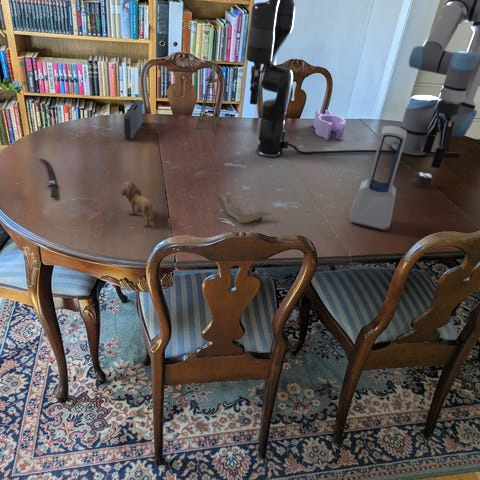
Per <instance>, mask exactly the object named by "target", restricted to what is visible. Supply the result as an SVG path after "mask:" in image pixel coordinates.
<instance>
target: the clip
mask: <svg viewBox="0 0 480 480" xmlns="http://www.w3.org/2000/svg"><path fill="white" fill-rule="evenodd" d="M346 121H347V120H346V119H345V118H343V117H342V116H339V115H336V114H335V113H334V112H333V111H331V110H327V109H325V110H324V113H321V110H320V109H317V110H315V114H314V120H313V128H315V130H314V133H315V134H316V135H317V136H319V137H321V138H324V139H325V141H328V140H329V139H330V137H331V132H334V133H336V135H335V139H336V140H339V141H343V138H344V134H345V129H346V123H347V122H346Z"/></svg>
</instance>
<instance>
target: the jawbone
mask: <svg viewBox="0 0 480 480" xmlns="http://www.w3.org/2000/svg"><path fill="white" fill-rule="evenodd" d="M218 197H219V198H220V199H221V200H222V203H223V205H224V208H225V211H226V214H228V215H229V216H230V217H232V218H233V219H234V220H237V222H238V223H240V224H243V225H244V224H249V223H251V222H254V221H256V220H257V221H259V222H262V221H263V220H264V219H263V218H264V216H267V217H268V216H270V215H271V214H270V213H269V212H267V211H261V210H260V211H255V212H253V213H243V212H242V211H241V210H239V209H238V208H237V207H236V206H235V205H234V203H233V202H229V201H228V199H227V197H226V196H225V194H224V193H218Z"/></svg>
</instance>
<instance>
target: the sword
mask: <svg viewBox="0 0 480 480" xmlns="http://www.w3.org/2000/svg"><path fill="white" fill-rule="evenodd" d="M40 161H41V162H42V163H43V165H44V166H45V169H46V173H47V176H48V185H47V188H50V198H56V197H57V189H56V188H57V187H59V185H58V184H57V183H56V180H55V176H54V172H53V169H52V167H51V164H50V163H49V161H48V160H46V159H43V158H40Z"/></svg>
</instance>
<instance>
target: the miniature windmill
mask: <svg viewBox="0 0 480 480" xmlns="http://www.w3.org/2000/svg"><path fill="white" fill-rule="evenodd" d="M211 63H212V64H210V65H209V63H205V62H201V65H200V66H201V69H210V74H209V76H208V77H207V78H206V79H205V82H207V84H206V90H205V91H204V92H205V93H204V96H203V101H202V102H201V103H202V105H201V108H200V112H199V117H198V118H197V124H196V129H198V128H199V126H200V122H201V123H202V124H203V123H204V122H207V123H213V132H216V122H217V125H218V126H220V116H219V111H218V102H217V95H216V85H215V83H216V82H219V79H217V78H215V77H216V75H217V74H216V73H217V69H218V67H217V66H218V61H217V56H216V55H215V56H214V59H212V62H211ZM210 89H211V94H210V93H209V90H210ZM208 99H210V100H211V101H212V103H211V104H210V103H207V101H208ZM207 106H212V108H210V107H207ZM206 110H211V111H212V115H210V114H205V112H206ZM215 111H216V115H215ZM205 117H210V118H212V120H206V119H205ZM204 119H205V120H204Z"/></svg>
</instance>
